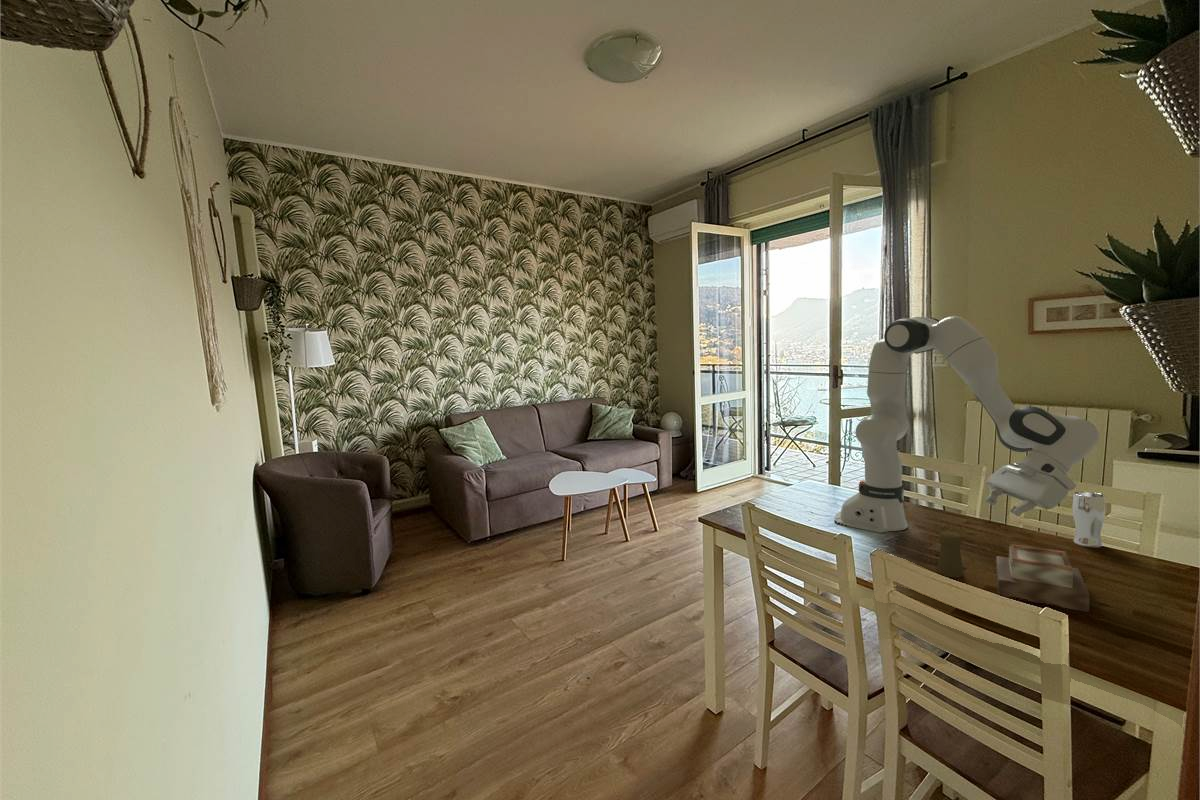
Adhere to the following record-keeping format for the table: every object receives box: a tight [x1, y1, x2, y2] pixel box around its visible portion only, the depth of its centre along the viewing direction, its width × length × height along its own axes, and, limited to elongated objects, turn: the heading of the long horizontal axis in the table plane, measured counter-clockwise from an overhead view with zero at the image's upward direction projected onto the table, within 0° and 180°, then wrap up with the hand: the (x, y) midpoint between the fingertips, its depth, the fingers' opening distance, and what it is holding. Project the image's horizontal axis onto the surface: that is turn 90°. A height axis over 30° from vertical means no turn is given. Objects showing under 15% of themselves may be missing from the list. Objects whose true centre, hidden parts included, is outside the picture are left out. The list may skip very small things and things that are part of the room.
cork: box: [936, 531, 965, 578], centre depth 135 cm, size 6×6×11 cm
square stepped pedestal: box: [995, 543, 1090, 613], centre depth 124 cm, size 16×16×9 cm
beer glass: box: [1071, 490, 1107, 549], centre depth 147 cm, size 7×7×15 cm
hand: (1000, 508), depth 133 cm, fingers open, 8 cm apart
